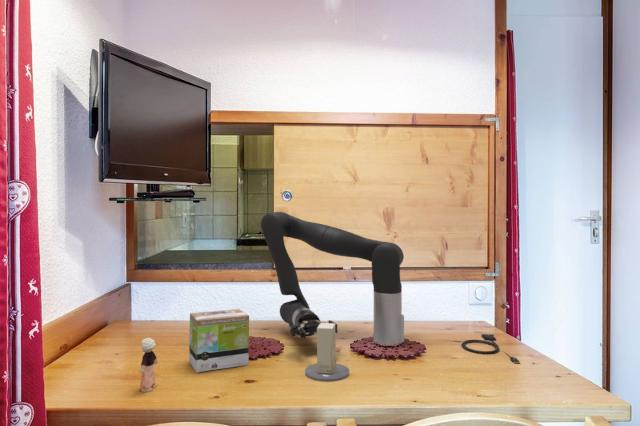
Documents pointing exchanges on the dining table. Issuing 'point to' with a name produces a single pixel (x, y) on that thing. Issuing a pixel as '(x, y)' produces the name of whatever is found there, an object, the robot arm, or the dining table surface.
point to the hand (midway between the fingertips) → (319, 334)
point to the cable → (490, 338)
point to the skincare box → (326, 348)
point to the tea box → (218, 339)
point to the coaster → (338, 374)
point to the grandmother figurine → (148, 365)
